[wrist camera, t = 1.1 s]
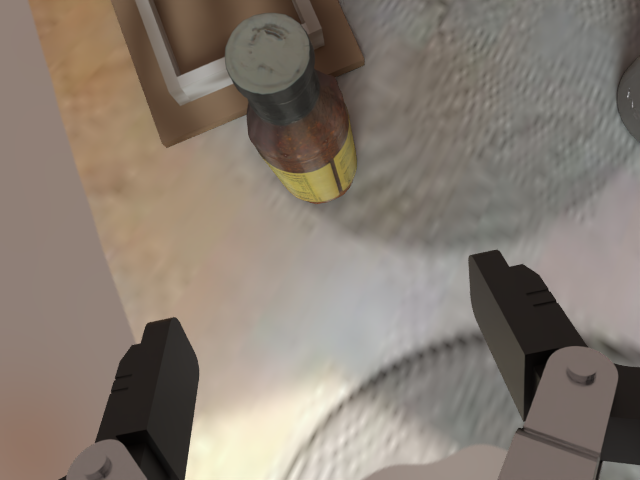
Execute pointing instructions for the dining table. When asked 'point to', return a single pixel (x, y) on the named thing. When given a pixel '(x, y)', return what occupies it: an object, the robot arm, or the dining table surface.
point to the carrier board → (215, 55)
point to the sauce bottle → (292, 107)
